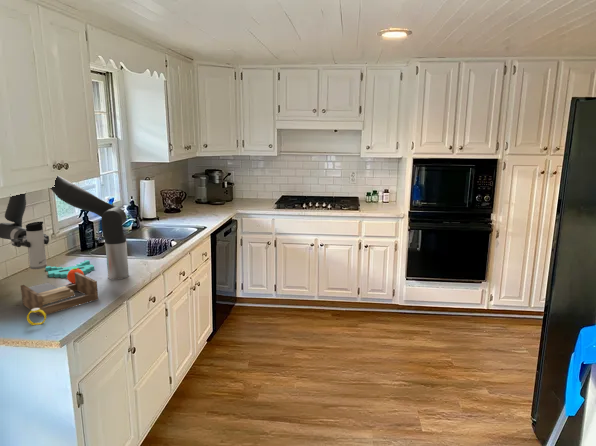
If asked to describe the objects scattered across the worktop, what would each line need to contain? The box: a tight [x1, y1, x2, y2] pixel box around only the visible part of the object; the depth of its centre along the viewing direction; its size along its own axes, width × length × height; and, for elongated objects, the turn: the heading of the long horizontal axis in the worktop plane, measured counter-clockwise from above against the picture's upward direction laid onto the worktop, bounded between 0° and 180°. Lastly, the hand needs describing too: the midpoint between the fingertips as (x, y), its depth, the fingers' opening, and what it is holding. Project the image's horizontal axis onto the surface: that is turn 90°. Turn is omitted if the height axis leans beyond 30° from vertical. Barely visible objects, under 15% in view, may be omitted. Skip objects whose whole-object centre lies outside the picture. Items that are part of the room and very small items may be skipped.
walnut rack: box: [20, 272, 99, 317], centre depth 179 cm, size 18×22×8 cm
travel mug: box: [25, 221, 48, 270], centre depth 187 cm, size 6×7×20 cm
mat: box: [27, 282, 58, 293], centre depth 193 cm, size 11×11×1 cm
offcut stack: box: [38, 285, 76, 306], centre depth 183 cm, size 5×13×4 cm, turn 143°
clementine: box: [66, 268, 85, 284], centre depth 201 cm, size 8×7×7 cm
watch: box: [26, 308, 47, 326], centre depth 159 cm, size 6×3×6 cm, turn 104°
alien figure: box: [44, 259, 95, 280], centre depth 217 cm, size 20×2×20 cm
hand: (38, 243), depth 186 cm, fingers closed on travel mug, 6 cm apart
